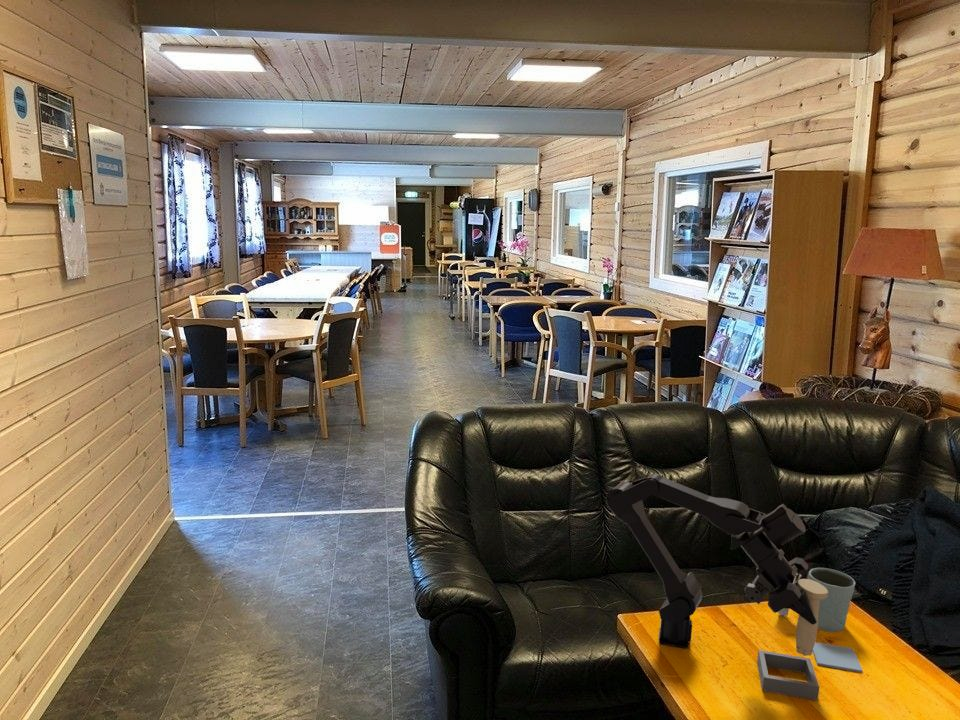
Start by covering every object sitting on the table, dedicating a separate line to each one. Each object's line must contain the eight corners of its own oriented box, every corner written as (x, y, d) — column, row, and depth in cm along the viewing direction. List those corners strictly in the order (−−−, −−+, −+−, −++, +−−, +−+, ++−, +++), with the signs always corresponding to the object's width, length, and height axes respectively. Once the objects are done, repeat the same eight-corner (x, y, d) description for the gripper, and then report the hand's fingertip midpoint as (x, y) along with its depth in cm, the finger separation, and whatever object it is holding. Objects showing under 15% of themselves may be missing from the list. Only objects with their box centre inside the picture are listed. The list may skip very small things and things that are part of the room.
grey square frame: (762, 690, 149) (763, 677, 148) (757, 662, 159) (758, 649, 158) (817, 700, 146) (819, 687, 146) (808, 671, 156) (810, 658, 156)
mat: (817, 664, 159) (817, 662, 159) (810, 643, 167) (810, 641, 167) (862, 672, 156) (862, 670, 156) (852, 650, 165) (853, 648, 165)
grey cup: (795, 612, 181) (800, 567, 179) (833, 611, 182) (839, 567, 180) (818, 634, 171) (824, 587, 169) (858, 633, 172) (864, 586, 170)
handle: (803, 662, 149) (812, 594, 146) (784, 644, 155) (792, 579, 152) (823, 660, 150) (833, 593, 147) (804, 643, 156) (813, 578, 153)
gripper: (742, 558, 166) (789, 616, 162) (726, 590, 150) (777, 656, 146) (783, 533, 161) (832, 593, 157) (771, 564, 145) (825, 631, 141)
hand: (816, 618), depth 151 cm, fingers closed on handle, 4 cm apart
